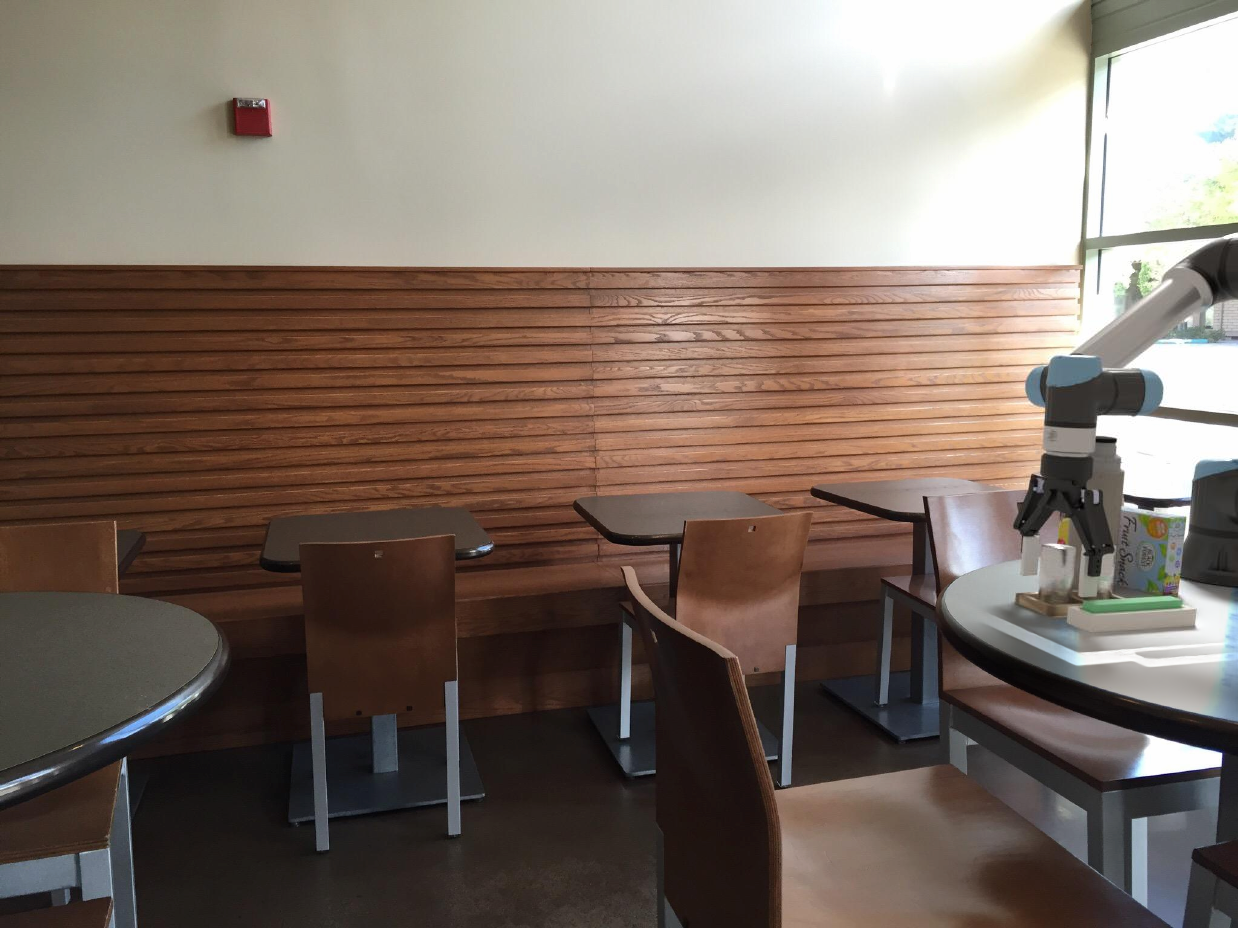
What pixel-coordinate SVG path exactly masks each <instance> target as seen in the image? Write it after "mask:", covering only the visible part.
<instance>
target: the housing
mask: <svg viewBox="0 0 1238 928" xmlns="http://www.w3.org/2000/svg"><path fill="white" fill-rule="evenodd" d="M1082 609H1083V606H1069V607H1068V613H1067V618H1066V623H1067V624H1069V625H1071V626H1073V627H1076V628H1078V629H1080V630H1083V631H1086V632H1089V633H1101V632H1102V633H1103V632H1105V633H1106V632H1119V631H1130V630H1131V631H1133V630H1146V629H1147V630H1148V629H1149V630H1150V629H1161V628H1174V627H1175V628H1177V627H1191V626H1196V621H1197V620H1196V619H1197V608H1194V607H1192V606H1189V605H1186V604H1183V603H1182V608H1172V609H1156V610H1140V611H1124V612H1108V613H1090V612H1088V611H1085V610H1082Z"/></svg>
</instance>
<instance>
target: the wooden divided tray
mask: <svg viewBox="0 0 1238 928" xmlns="http://www.w3.org/2000/svg"><path fill="white" fill-rule="evenodd" d="M1112 599H1125V597H1122V596H1120V595H1117V594H1115V593H1113V594H1112ZM1083 601H1086V600H1084V599H1081V598H1078V590H1077V589H1073V592H1072V604H1064V605H1051V604H1048V603H1046V602H1043V601H1040V600H1038V591H1031V592H1015V597H1014V600H1012V602H1013V603H1016V604H1018V605H1021V606H1023V607H1025V608H1028V609H1030V610H1033V611H1035V612H1038V613H1041V614H1042V615H1045V616H1047V617H1050V618H1052V619H1063V618H1066V619H1067V613H1068V607H1069V606H1083Z"/></svg>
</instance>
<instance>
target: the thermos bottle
mask: <svg viewBox="0 0 1238 928" xmlns="http://www.w3.org/2000/svg"><path fill="white" fill-rule="evenodd" d="M1117 442H1118V438H1116V437H1114V436H1106V435H1105V436H1104V435H1096V439H1095V451H1094V452H1093V453H1090V456H1092V458H1093V459H1094V461H1093V473H1092V478H1091V479H1090V480H1088V481H1087V484H1086V485H1087V490H1102V492H1103V507H1104V510H1105V514H1106V518H1107V522H1108V526H1109V530H1110V533H1111V537H1112V541H1113V545H1115V546H1116V547H1117V549H1116V560H1115V571H1114V582H1113V592H1114V591H1115V575H1116V564H1117V553H1118V535H1119V528H1120V519H1121V508H1122V506H1123V505H1122V504H1123V497H1124V496H1123V494H1124V483H1125V473H1126V472H1125V470H1124V469H1122V467H1121V464H1122V463H1123V462H1122V457H1121V456H1120V455H1118V454H1117ZM1078 510H1080V509H1078ZM1068 546H1072V547H1075V548H1076V556H1075V568H1074V580H1073V590H1078V588H1079V576H1080V564H1081V552H1082V542H1081V540H1080V538H1079V535H1078V533H1077V531H1076V529H1075V527H1074V524H1073V522H1072V520H1071V518H1069V530H1068Z"/></svg>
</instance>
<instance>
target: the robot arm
mask: <svg viewBox="0 0 1238 928" xmlns="http://www.w3.org/2000/svg"><path fill="white" fill-rule="evenodd" d="M1160 282H1161V283H1160V284H1158V285H1157V286H1156V287H1155V288H1153V289H1152V290H1150V291H1149V292H1148V293H1147V294H1145V295H1144V296H1143V297H1141V298H1140V299H1139V300H1137V302H1135V303H1134V304H1133V305H1131V306H1130V307H1129V308H1127V309H1126V310H1125V311H1124V312H1122V313H1121V314H1120V315H1118V316H1117V317H1116V318H1114V319H1113V320H1112V321H1111V322H1109V323H1108V324H1107V325H1105V326H1104V327H1103V328H1101V330H1099V331H1097V332H1096V333H1095V334H1093V336H1091V337H1090V338H1089V339H1087V340H1085V342H1083V344H1081V345H1080V346H1077V348H1075V350H1073V351H1072V352H1071V353H1069V354H1068V355H1066V354H1065V355H1064V354H1058V355H1054V356H1053V357H1051V359H1050V360H1049V364H1045V365H1044V364H1043V365H1039V366H1036V367H1034V368H1033V369H1032V370H1031V371H1030V372H1029V373H1028V375H1027V377H1026V380H1025V385H1024V386H1025V387H1024V389H1025V391H1024V392H1025V395H1026V398H1027V399H1028V401H1029V402H1030V403H1031V404H1033V405H1034V406H1036V407H1038V408H1044V420H1043V435H1042V448H1041V449H1042V450H1044V451H1045V452H1043V453H1042V454H1041V455H1040V456H1041V457H1040V467H1039V468H1040V469H1039V475H1040V476H1041V477H1036V478H1035V477H1033V478H1030V479H1029V484H1028V489H1027V493H1026V494H1025V497H1024V499H1023V502H1022V503H1021V506H1020V508H1019V511H1018V512H1017V514H1016V517H1015V520H1014V522H1013V524H1012V527H1013V530H1015V531H1016V530H1017V531H1019V534H1020V536H1021V540H1020V541H1021V543H1020V553H1021V559H1020V560H1021V561H1020V562H1021V564H1020V574H1019V575H1020V576H1022V577H1023V576H1024V577H1028V576H1029V577H1031V576H1038V572H1039V571H1038V569H1039V555H1040V543H1041V541H1040V540H1041V536H1039V535H1040V530H1041V529H1042V528H1043V527H1044V525H1045V523H1046V522H1047V521H1048V520H1049V518H1050V517H1051V516H1052V515H1053V514H1054V512H1059V513H1060V512H1061V513H1066V515H1067V517H1069V518H1071V520H1072V522H1073V524H1074V527H1075V529H1076V531H1077V533H1078V535H1079V538H1080V540H1081V542H1082V544H1083V546H1084V549H1085V551H1086V552H1085V553H1084V554H1082V558H1081V570H1080V582H1079V593H1078V596H1080V597H1093V596H1097V586H1098V577H1100V574H1101V566H1102V557H1103V555H1105V554H1113V553H1114V551H1115V549H1114V545H1113V541H1112V537H1111V533H1110V530H1109V526H1108V522H1107V518H1106V514H1105V510H1104V507H1103V492H1102V490H1087V485H1086V484H1087V481H1088V480H1090V479H1091V478H1092V473H1093V461H1094V459H1093V458H1092V456H1090V453H1093V452H1094V451H1095V439H1096V436H1097V435H1096V434H1097V425H1098V424H1097V423H1098V417H1100V416H1112V417H1113V416H1114V417H1116V416H1121V417H1122V416H1123V417H1125V416H1128V417H1137V416H1146V415H1149V414H1151V413H1153V412H1155V411H1156V410H1157V409H1158V408H1159V407H1160V405H1161V403H1162V401H1163V398H1164V391H1165V390H1164V384H1163V381H1162V379H1161V377H1160V376H1159V375H1158V374H1157V373H1155V372H1154V371H1152V370H1150V369H1144V368H1143V369H1142V368H1139V367H1132V368H1125V367H1126V366H1128V365H1129V364H1131V363H1132V362H1133V361H1134V360H1135V359H1137V358H1138V357H1139V356H1140V355H1142V354H1143V353H1145V352H1146V351H1147V350H1148V349H1149V348H1151V347H1152V346H1153V345H1154V344H1156V343H1158V341H1159V340H1161V339H1162V338H1163V337H1165V336H1166V335H1167V334H1169V333H1170V332H1171V331H1173V329H1175V328H1176V327H1177V326H1179V325H1180V324H1181V323H1183V322H1184V321H1185V320H1187V318H1189V317H1190V316H1192V315H1199V314H1200V315H1201V314H1203V313H1204V312H1206V311H1208V309H1210V308H1211V307H1213V306H1215V305H1217V304H1220V303H1223V302H1228V301H1237V300H1238V232H1235V233H1230V234H1228V235H1227V234H1226V235H1225V236H1221V237H1219V238H1216V239H1215V240H1213V241H1210V242H1209V243H1207V244H1205V245H1204V246H1202V247H1200V248H1199V249H1196V250H1195V251H1193V252H1192V253H1190V254H1189V255H1188V256H1186V257H1184V258H1183V259H1181V260H1180V261H1178V262H1177V263H1176V264H1175V265H1173V266H1172V267H1171V268H1169V269H1168V270H1166V272H1165V273H1164V274H1163V275H1162V278H1161V280H1160ZM1042 477H1043V478H1042ZM1190 496H1191V497H1190V508H1189V517H1188V518H1189V520H1188V531H1187V536H1186V537H1185V538H1184V545H1183V554H1182V563H1181V573H1180V578H1181V577H1182V578H1185V579H1188V580H1192V581H1194V582H1200V583H1205V584H1212V585H1218V586H1227V587H1238V458H1212V459H1211V458H1210V459H1208V458H1207V459H1201V460H1200V461H1198V462H1197V463H1196V465H1195V466H1194V472H1193V478H1192V479H1191V495H1190ZM1078 509H1080V510H1078ZM1104 544H1105V546H1103V545H1104ZM1093 546H1094V547H1093Z"/></svg>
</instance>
